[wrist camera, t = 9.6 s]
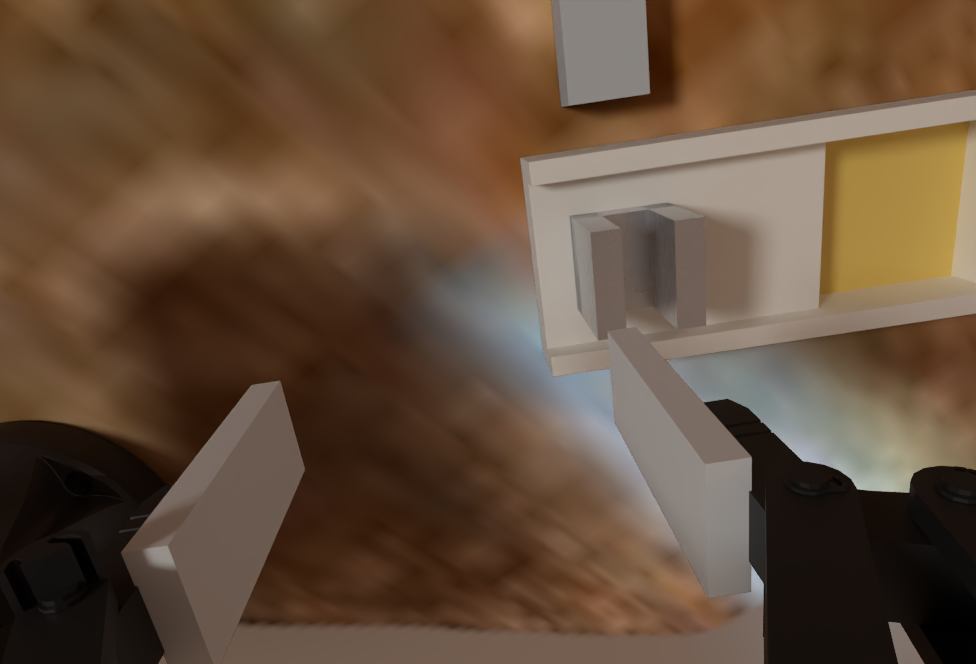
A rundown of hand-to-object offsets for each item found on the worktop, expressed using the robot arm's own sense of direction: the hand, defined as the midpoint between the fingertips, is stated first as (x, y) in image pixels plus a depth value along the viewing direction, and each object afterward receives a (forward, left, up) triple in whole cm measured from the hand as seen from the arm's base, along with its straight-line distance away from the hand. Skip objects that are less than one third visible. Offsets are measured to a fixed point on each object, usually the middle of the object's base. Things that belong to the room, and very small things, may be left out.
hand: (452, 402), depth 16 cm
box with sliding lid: (+15, 0, -15) cm, 22 cm away
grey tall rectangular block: (+8, +11, -15) cm, 20 cm away
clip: (+8, 0, -13) cm, 15 cm away
